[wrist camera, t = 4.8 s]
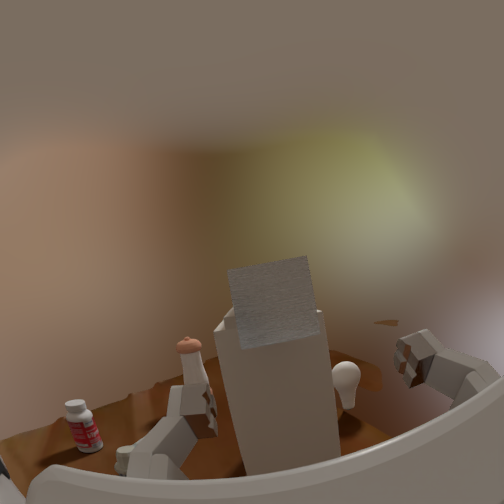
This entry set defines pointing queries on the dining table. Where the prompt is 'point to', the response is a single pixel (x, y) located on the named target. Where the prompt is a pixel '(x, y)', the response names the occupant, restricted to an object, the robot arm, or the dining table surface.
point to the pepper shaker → (192, 362)
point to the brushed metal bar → (273, 302)
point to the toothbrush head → (124, 458)
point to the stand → (279, 399)
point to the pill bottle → (83, 426)
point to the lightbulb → (346, 382)
